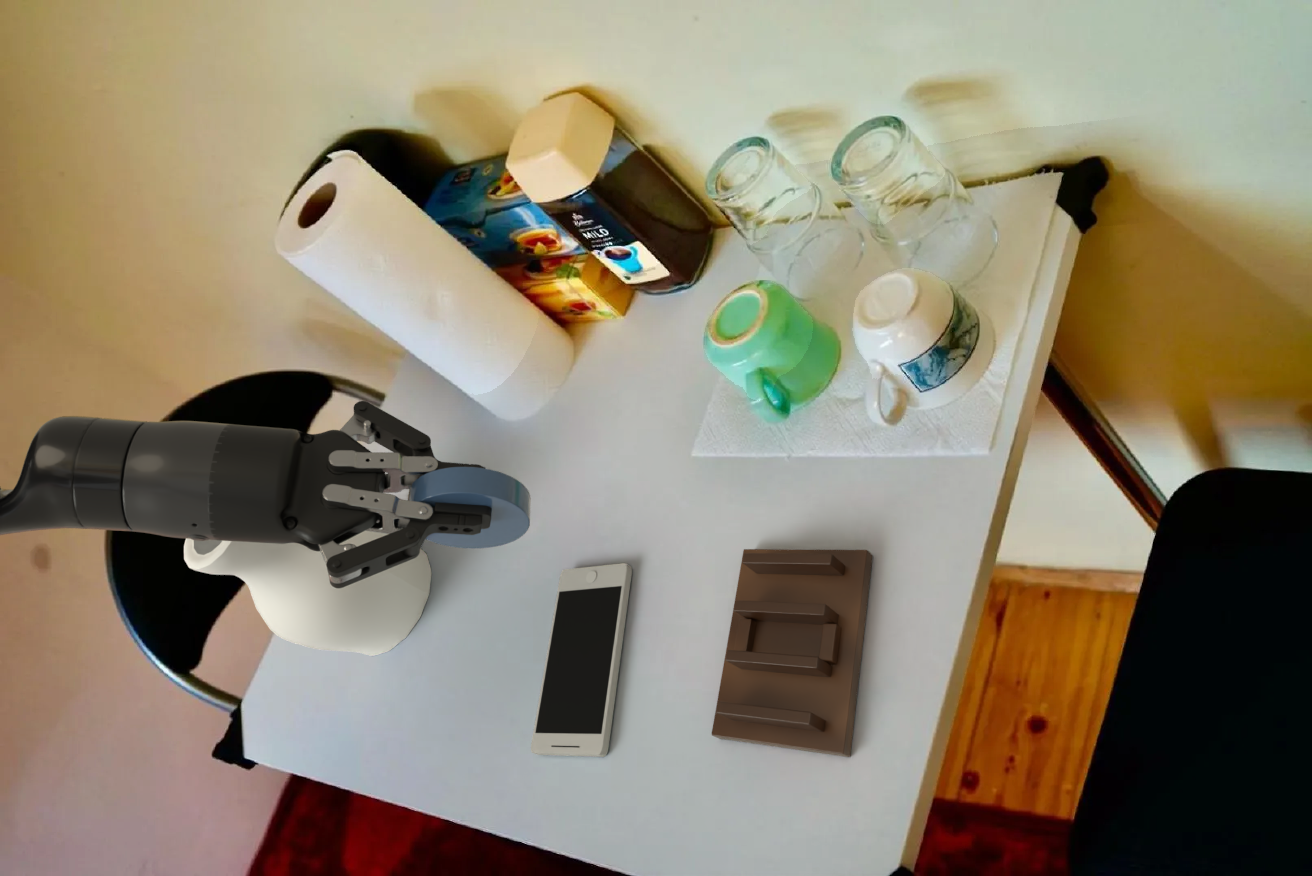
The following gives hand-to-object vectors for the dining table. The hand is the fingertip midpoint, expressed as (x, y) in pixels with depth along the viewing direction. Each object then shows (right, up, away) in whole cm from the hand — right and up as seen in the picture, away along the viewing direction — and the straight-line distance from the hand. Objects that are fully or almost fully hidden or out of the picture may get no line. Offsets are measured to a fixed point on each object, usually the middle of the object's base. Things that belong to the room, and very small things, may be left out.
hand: (490, 500), depth 61 cm
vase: (-16, -12, +30) cm, 36 cm away
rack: (+21, -11, +3) cm, 24 cm away
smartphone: (+6, -14, +13) cm, 20 cm away
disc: (-2, -1, +1) cm, 2 cm away
